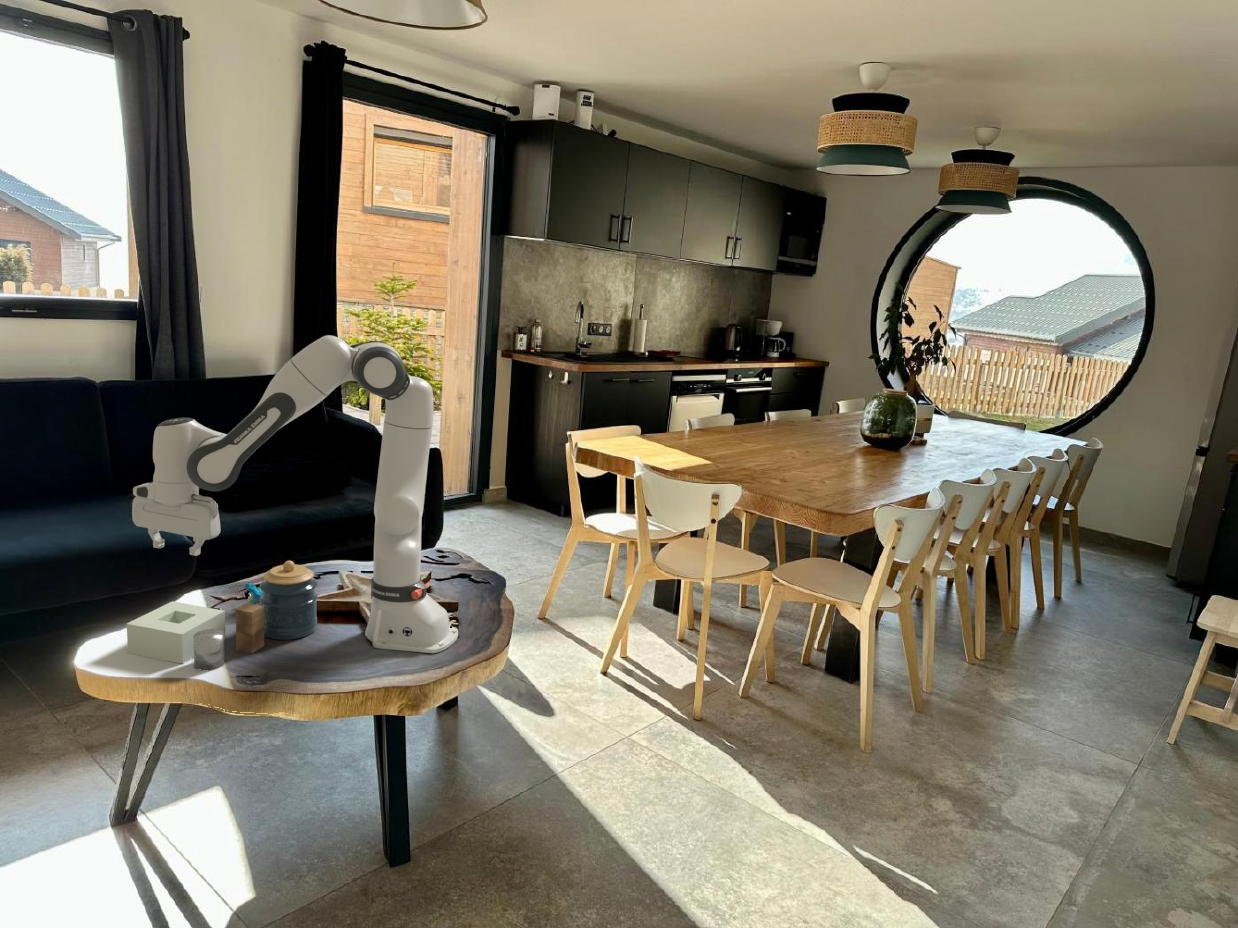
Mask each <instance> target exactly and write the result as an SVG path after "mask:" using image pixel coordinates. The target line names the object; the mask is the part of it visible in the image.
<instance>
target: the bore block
mask: <svg viewBox="0 0 1238 928" xmlns="http://www.w3.org/2000/svg"><path fill="white" fill-rule="evenodd" d="M206 629H218V630H221V631H223V632H224V640H225V639H226V611H225V610H222V609H216V608H211V607H206V606H201V605H194V604H189V603H184V602H178V601H175V600H174V601H173V600H172V601H170V602H168V603H166V604H163V605H162V606H160V607H158V608H156V609H154V610H152V611H150V612H148V613H145V614H143V615H141V616H139V617H138V618H136V619H134V620H131V621H129V622H127V623H126V639H127V641H126V642H127V643H126V644H127V653H128V654H131V655H135V656H136V655H137V656H141V657H147V658H151V659H156V660H162V661H167V662H172V663H177V664H181V663H182V664H181V665H183V664H185V662H186V663H187V662H188V661H190V659H191V658H192V659H194V644H193V635H194V634H195V633H197V632H199V631H202V630H206ZM192 659H191V660H192Z"/></svg>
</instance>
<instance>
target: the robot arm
mask: <svg viewBox="0 0 1238 928" xmlns="http://www.w3.org/2000/svg"><path fill="white" fill-rule="evenodd" d="M406 369H407V368H406V367H405V365H404V362H403V360H402V357H401V356H400V354H399V352H398V351H397V350H396V349H395V348H394V347H393V346H391V345H390V344H388V343H386V342H384V341H380V340H371V341H366V342H361V343H356V344H352V345H349V344H348V343H346V342H345V341H344V340H343V339H341V338H340V337H337V336H335V335H329V334H327V335H323V336H322V337H320V338H318V339H317V340H315V341H313V342H312V343H310V344H308V345H306V346H305V347H304V348H302V350H300V351H299V352H297V353H296V354H295V355H294V356H292V357H291V359H289V360H288V361H287V362H286V363H285V364H283V365H282V367H281V368H280V369H279V370H278V372H277V373H275V374H274V376H273V377H272V379H271V381H270V382H269V384H268V386H266V387H267V388H266V389H265V391H264V393H263V395H262V397H261V398H260V400H259V402H258V404H257V405H256V406H255V407H254V409H253V410H251V412H249V414H248V415H247V416H245V418H243V420H241V421H240V422H239V423H238V424H237V425H235V427H234V428H232V430H231V431H229V432H228V433H223V432H219V431H216V430H213V429H212V428H209V427H206V426H204V425H203V424H201V423H199V422H198V421H196V419H194V418H191V417H177V418H176V417H175V418H171V419H170V418H169V419H166V420H165V421H162V422H161V423H159V424H158V425H157V426H156V428H155V430H154V432H153V433H154V434H153V443H152V460H153V461H152V462H153V464H154V473H153V476H152V477H153V478H152V481H150V482H146V483H142V484H140V485H136V486H134V487H133V488H132V494H133V496H134V498H133V499H132V506H131V507H132V508H131V509H132V510H131V511H132V512H131V514H132V519H131V520H132V522H133V523H134V525H135V526H136V527H139V528H146V529H147V532H148V535H149V537H150V538H151V540H152V545H153V546H152V547H153V548H156V549H162V548H164V547H165V541H166V540H165V539H164V538H162V536H161V534H160V532H167V533H172V534H176V535H182V536H186V537H187V536H188V537H192V539H193V540H192V541H193V542H194V544H193V546H191V547H189V550H188V551H189V555H190V556H195V557H197V556H199V555H200V554H201V549H202V548H201V547H202V546H203V544H204V543H205V541H207V540H208V541H209V540H211V539H214V538H217V537H218V536H219V534H221V520H220V514H219V505H218V503H216V501H215V500H214V499H213V498H212V497H210V496H203V495H201V494H199V493H200V492H199V491H200V489H201V490H204V491H209V492H220V491H224V490H226V489H229V488H231V486H233V484H235V482H236V481H237V480H238V477H239V475H240V474H241V469H242V467H243V465H244V464H245V462H246V461H247V460H248V459H249V458H250V457H251V456H252V455H253V454H254V453H255V452H256V450H258V449H259V448H260V447H261V446H262V445H264V443H266V442H267V441H268V440H269V439H270V438H271V437H273V435H274V434H276V433H277V431H279V430H281V429H282V428H283V427H285V426H286V425H287V424H289V423H290V422H292V421H294V420H295V419H298V417H300V416H302V415H303V414H305V413H307V412H308V411H310V410H311V409H312V408H314V407H315V406H317V405H318V404H320V403H321V402H322V401H323V400H324V399H325V398H327V397H328V396H329V395H330V394H331V393H332V392H333V391H335V390H336V388H338V387H339V386H341V385H342V384H345V383H346V382H351V381H353V382H354V381H355V382H357V383H358V385H359V386H360V387H361V388H362V389H364V390H365V391H366V392H367V393H370V394H372V395H375V396H376V397H379V398H381V399H384V400H385V412H384V413H385V414H384V420H383V427H382V437H381V446H380V455H379V464H378V472H377V482H376V489H375V497H374V505H373V514H374V517H375V519H374V521H375V522H374V539H373V540H374V541H373V567H372V568H373V570H372V571H373V572H372V573H373V574H372V575H373V577H372V578H371V582H370V584H371V585H370V599H371V605H370V606H371V607H370V613H369V618H368V622H367V626H366V629H365V631H364V635H365V637H366V639H368V640H369V641H370V642H371V644H372V647H373V648H375V649H381V650H383V649H384V650H394V651H406V652H416V653H417V652H418V653H427V654H428V653H429V654H436V653H440V652H443V651H445V650H447V649H448V648H450V647H451V646H452V645H453V644H454V643H455V642H456V641H457V640H458V637H459V630H458V628H457V627H456V626H455V627H454V626H452V628H450V618H449V613H448V612H447V610H446V609H445V608H444V607H443V606H441V604H439V603H438V602H437V601H436V600H434V599H433V598H432V597H431V596H430V595H428V594H427V589H428V588H429V587H430V581H428V582H426V583H424V582H423V580H422V578H421V562H422V561H421V560H422V517H423V513H424V507H425V506H424V505H425V498H426V496H425V495H426V485H427V476H428V465H429V458H430V457H429V455H430V448H431V442H432V441H431V439H432V434H433V433H432V432H433V423H434V410H435V409H434V408H435V407H434V391H433V387H432V386H431V384H430V383H429V382H428V381H426V380H425V379H424V378H421V377H418V376H414V375H409V373H408V371H407V370H406Z"/></svg>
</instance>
